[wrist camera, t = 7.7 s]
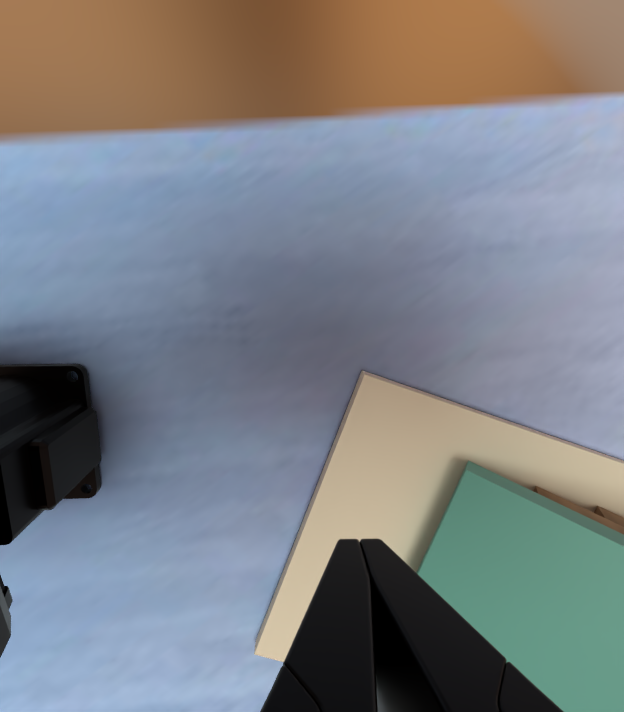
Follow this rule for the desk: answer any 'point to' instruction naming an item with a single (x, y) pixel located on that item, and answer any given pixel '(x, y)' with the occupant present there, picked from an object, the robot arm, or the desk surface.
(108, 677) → the desk surface
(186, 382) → the desk surface
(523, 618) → the domino
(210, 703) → the desk surface
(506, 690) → the robot arm
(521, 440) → the board
